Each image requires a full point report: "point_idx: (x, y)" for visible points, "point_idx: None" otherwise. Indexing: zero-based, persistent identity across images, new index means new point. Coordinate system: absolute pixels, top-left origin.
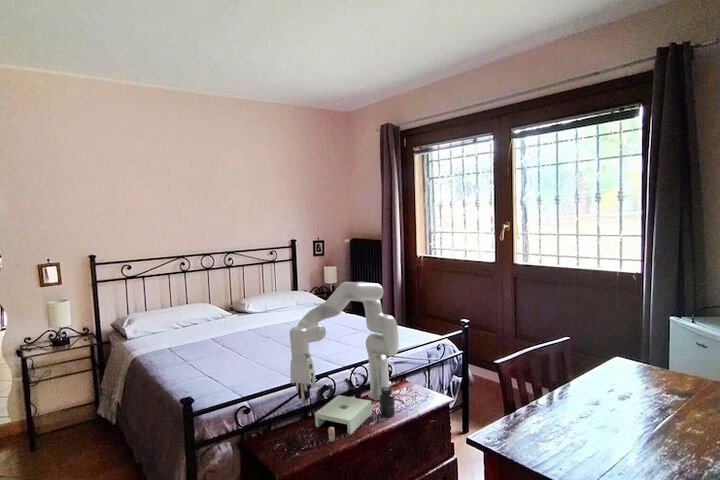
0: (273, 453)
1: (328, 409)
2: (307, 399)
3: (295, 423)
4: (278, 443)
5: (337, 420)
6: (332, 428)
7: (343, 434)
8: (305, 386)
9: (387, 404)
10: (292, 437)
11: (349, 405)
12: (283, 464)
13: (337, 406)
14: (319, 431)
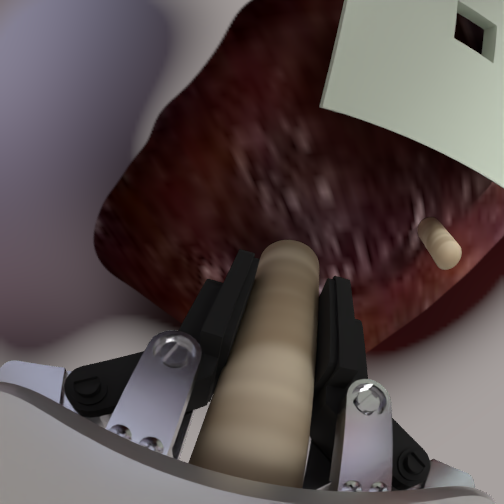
0: None
1: (400, 50)
2: (318, 284)
3: (194, 94)
4: (208, 267)
5: (471, 168)
6: (454, 255)
7: (468, 181)
8: (317, 485)
9: None
10: (242, 220)
11: (497, 21)
12: None
13: (440, 16)
14: (357, 155)
